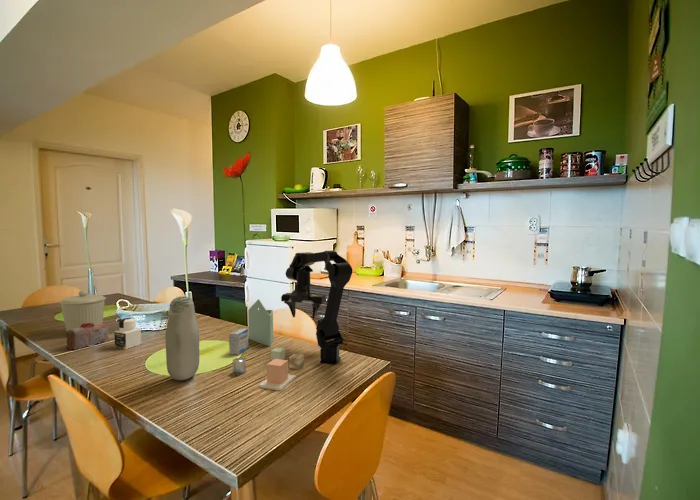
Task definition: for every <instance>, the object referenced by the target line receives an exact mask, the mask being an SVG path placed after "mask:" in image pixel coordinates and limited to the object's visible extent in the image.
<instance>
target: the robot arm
mask: <svg viewBox="0 0 700 500" xmlns="http://www.w3.org/2000/svg"><path fill="white" fill-rule="evenodd" d="M321 262H324V269H325V270H326V272H327V274H328V276H327V277H328V280H329V283H330V287H329V293H328V297H326V295H325V294H315V295H313V296H312V292H311V287H312V285H313V284H312V283H311V273H313V272H314V270H313V268H312V267H311V265H315V263H321ZM332 262H333V263H332ZM285 276H286V278H287V279H288V280H291V281H296V284H295V287H294V290H292V291H291V292H286V293H283V294H282V295H281V297H280V300H281V302H283V303H284V304H286V305H287V306H288V308H289V310H290V313H291V315H292V318H295V317H296V311H297V308H296V307H297V303H299V304H300V303H303V301H305V302H306V301H307V302H309V301H310V302H312V304H311V306H312V320H314V319H316V316H317V313H318V311H319V309H320V306H321V305H323V304H324V303H326V306H325V311H324V316H323V318H321V319H318V320H317V325H316V327H315V330H316V332H315V336H316V342H317V346H318V347H319V348H320V352H319V353H320V355H319V356H320V361H319V363H324V364H330V365H337V363H338V362H339V361H340V360H341V359H342V357H341V356H340V345H343V343H344V338H343V336H342V334H341V332H340V325H339V323H338V315H339V312H340V306H341V302H342V297H343V294H344V289H345V287H346V285H347V284H348V283H349V282H350V281H351V277H352V276H353V267H352V265H351V264H350V263H349V262H348V261H347V259H345V258H344V257H342V255H339V253H338V252H337V251H336V250H324V251H319V252H296V253H295V254H294V256H293V259H292V260H291V263H290V264H289V267H288V268H287V269H286V271H285Z"/></svg>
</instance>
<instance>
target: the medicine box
mask: <svg viewBox="0 0 700 500" xmlns="http://www.w3.org/2000/svg"><path fill="white" fill-rule="evenodd" d="M228 347H229V348H228V350H229V351H228V352H229V355H235V356H237V355H238V356H239V354H240V355H241V354H242V353H244V352H246V350H248V349H249V328H237V329H236V330H233V331H231V332H230V333H228Z"/></svg>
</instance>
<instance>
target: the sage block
mask: <svg viewBox="0 0 700 500" xmlns="http://www.w3.org/2000/svg"><path fill="white" fill-rule="evenodd" d="M274 359H281V360H286V348H283V347H275V348H273V349H272V350H270V362H271V361H272V360H274Z"/></svg>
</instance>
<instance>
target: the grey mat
mask: <svg viewBox="0 0 700 500" xmlns="http://www.w3.org/2000/svg"><path fill="white" fill-rule="evenodd" d="M295 379H296V375H294V374H289V373H288V378H287V379H286V380H285V381H284V382H283V383H282V384H276V383H270V382H267V378H266V379H264V380H263V381H261V382H260V383H258V388H263V389H267V390H275V391H283V389H285V388H286V387H287V386H288V385H290V383H291V382H293V381H294V380H295Z"/></svg>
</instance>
